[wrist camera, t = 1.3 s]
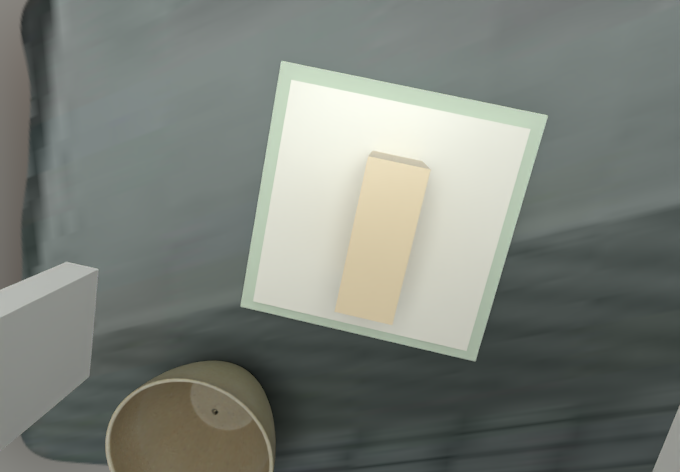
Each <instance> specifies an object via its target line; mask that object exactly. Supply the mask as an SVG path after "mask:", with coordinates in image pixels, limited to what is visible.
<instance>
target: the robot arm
mask: <svg viewBox="0 0 680 472" xmlns="http://www.w3.org/2000/svg"><path fill="white" fill-rule="evenodd" d="M98 272H99V269H96V268H92V267H87V266H83V265H78V264H74V263H69V262H65V263H63V264H60V265H58V266H56V267H53V268H51V269H49V270H46V271H44V272H42V273H39V274H37V275H34V276H32V277H30V278H27V279H25V280H23V281H20V282H18V283H16V284H13V285H11V286H8V287H6V288H4V289H1V290H0V451H1V450H2V449H4V448H5V447H6V446H7V445H9V444H10V443H11V442H12V441H13V440H14V439H16V438H17V437H18V436H19V435H20V434H22V433H23V432H24V431H25V430H26V429H28V428H29V427H30V426H31V425H32V424H34V423H35V422H36V421H37V420H38V419H39V418H41V417H42V416H43V415H44V414H45V413H47V412H48V411H49V410H50V409H51V408H53V407H54V406H55V405H56V404H57V403H59V402H60V401H61V400H62V399H63V398H65V397H66V396H67V395H68V394H69V393H70V392H72V391H73V390H74V389H75V388H76V387H78V386H79V385H80V384H81V383H82V382H84V381H85V380H86V379H87V378H88V377H89V376H90V364H91V353H92V341H93V329H94V318H95V306H96V295H97V283H98ZM653 472H680V406H679V408H678V411H677V413H676V415H675V418H674V420H673V423H672V425H671V428H670V430H669V433H668V435H667V437H666V440H665V442H664V445H663V447H662V450H661V452H660V454H659V457H658V459H657V462H656V464H655V467H654V469H653Z"/></svg>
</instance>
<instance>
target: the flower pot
mask: <svg viewBox="0 0 680 472" xmlns="http://www.w3.org/2000/svg"><path fill="white" fill-rule="evenodd" d="M216 411H218V413H217V414H216ZM105 449H106V457H107V462H108V466H109V469H110V472H273V471H274V463H275V449H276V441H275V427H274V420H273V415H272V411H271V407H270V404H269V401H268V399H267V397H266V394H265V392H264V390H263V388H262V387H261V385H260V384H259V382H258V381H257V380H256V378H255V377H254V376H253V375H252V374H251V373H250V372H248V371H247V370H246V369H244V368H242V367H240V366H238V365H236V364H233V363H229V362H224V361H202V362H195V363H190V364H186V365H183V366H180V367H177V368H174V369H171V370H169V371H167V372H165V373H163V374H161V375H159V376H157V377H155V378H153V379H151V380H150V381H148V382H146V383H145V384H143V385H142V386H140V387H139V388H137V389H136V390H135V391H133V392H132V393H131V394H129V395H128V396H127V397H126V398H125V399H124V400H123V401H122V402H121V403H120V405H119V406H118V407H117V409H116V410H115V412H114V413H113V415H112V417H111V420H110V422H109V425H108V429H107V433H106V442H105Z"/></svg>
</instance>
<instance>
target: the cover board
mask: <svg viewBox="0 0 680 472" xmlns="http://www.w3.org/2000/svg"><path fill="white" fill-rule="evenodd" d="M530 130H531V129H527V128H522V127H518V126H513V125H508V124H503V123H498V122H493V121H489V120H484V119H479V118H474V117H469V116H464V115H460V114H455V113H450V112H445V111H440V110H435V109H431V108H426V107H421V106H416V105H411V104H406V103H402V102H397V101H392V100H387V99H382V98H377V97H373V96H368V95H363V94H358V93H353V92H348V91H344V90H339V89H334V88H329V87H324V86H319V85H315V84H310V83H305V82H300V81H295V80H291V84H290V90H289V96H288V102H287V108H286V113H285V119H284V125H283V131H282V136H281V142H280V148H279V154H278V160H277V165H276V171H275V177H274V183H273V189H272V194H271V200H270V206H269V212H268V218H267V223H266V229H265V235H264V241H263V247H262V252H261V258H260V264H259V270H258V275H257V281H256V287H255V293H254V299H253V301H254V302H258V303H262V304H267V305H271V306H275V307H280V308H284V309H288V310H292V311H297V312H301V313H305V314H310V315H314V316H318V317H322V318H327V319H331V320H335V321H340V322H344V323H348V324H352V325H357V326H361V327H365V328H370V329H374V330H378V331H383V332H387V333H391V334H395V335H400V336H404V337H408V338H413V339H417V340H421V341H425V342H430V343H434V344H438V345H443V346H447V347H451V348H456V349H460V350H464V351H467V348H468V344H469V341H470V337H471V334H472V331H473V327H474V324H475V320H476V317H477V313H478V310H479V306H480V303H481V299H482V296H483V293H484V289H485V286H486V282H487V279H488V275H489V272H490V268H491V265H492V261H493V258H494V254H495V251H496V248H497V244H498V241H499V237H500V234H501V230H502V227H503V223H504V220H505V216H506V213H507V210H508V206H509V203H510V199H511V196H512V192H513V189H514V185H515V182H516V178H517V175H518V171H519V168H520V165H521V161H522V158H523V154H524V151H525V147H526V144H527V140H528V137H529V133H530Z"/></svg>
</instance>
